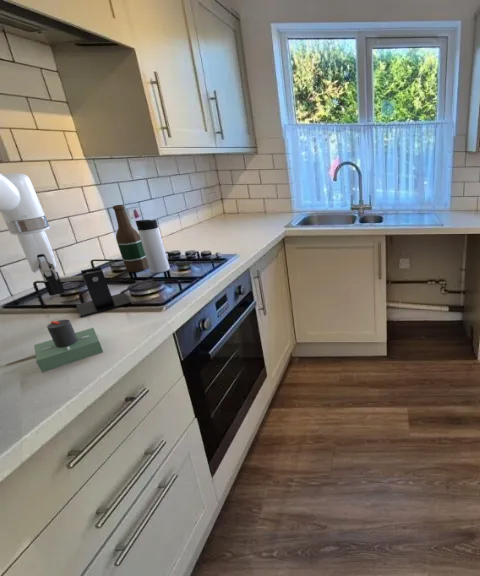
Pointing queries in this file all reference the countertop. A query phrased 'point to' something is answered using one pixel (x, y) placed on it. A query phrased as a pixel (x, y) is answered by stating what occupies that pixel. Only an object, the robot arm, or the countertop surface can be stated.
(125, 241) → the beer bottle
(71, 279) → the toaster lever
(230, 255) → the countertop surface
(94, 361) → the countertop surface
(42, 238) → the robot arm
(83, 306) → the bracket
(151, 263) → the travel mug
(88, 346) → the dial block
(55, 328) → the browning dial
